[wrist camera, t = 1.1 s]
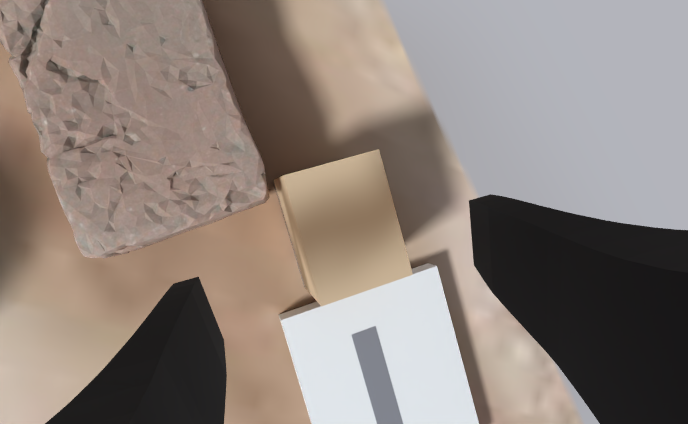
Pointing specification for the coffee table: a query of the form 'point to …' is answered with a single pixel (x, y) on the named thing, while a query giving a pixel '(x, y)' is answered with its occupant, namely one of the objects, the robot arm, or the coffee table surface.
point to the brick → (132, 117)
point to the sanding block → (343, 227)
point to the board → (381, 356)
